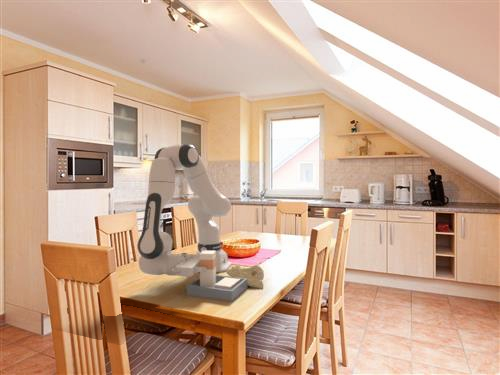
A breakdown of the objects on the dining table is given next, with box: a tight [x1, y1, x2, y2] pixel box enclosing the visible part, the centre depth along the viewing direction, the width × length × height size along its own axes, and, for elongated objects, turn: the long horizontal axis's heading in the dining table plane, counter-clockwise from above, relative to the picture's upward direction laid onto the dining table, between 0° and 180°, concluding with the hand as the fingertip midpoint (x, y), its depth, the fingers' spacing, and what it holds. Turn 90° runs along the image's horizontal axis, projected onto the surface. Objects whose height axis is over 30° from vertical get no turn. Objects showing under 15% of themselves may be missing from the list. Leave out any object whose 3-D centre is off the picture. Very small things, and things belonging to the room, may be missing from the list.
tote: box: [185, 274, 249, 303], centre depth 130 cm, size 16×20×5 cm
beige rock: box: [225, 264, 265, 290], centre depth 139 cm, size 15×7×15 cm
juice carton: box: [199, 250, 217, 288], centre depth 131 cm, size 6×6×16 cm
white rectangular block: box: [214, 277, 240, 290], centre depth 128 cm, size 10×7×4 cm
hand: (209, 265), depth 131 cm, fingers open, 8 cm apart
